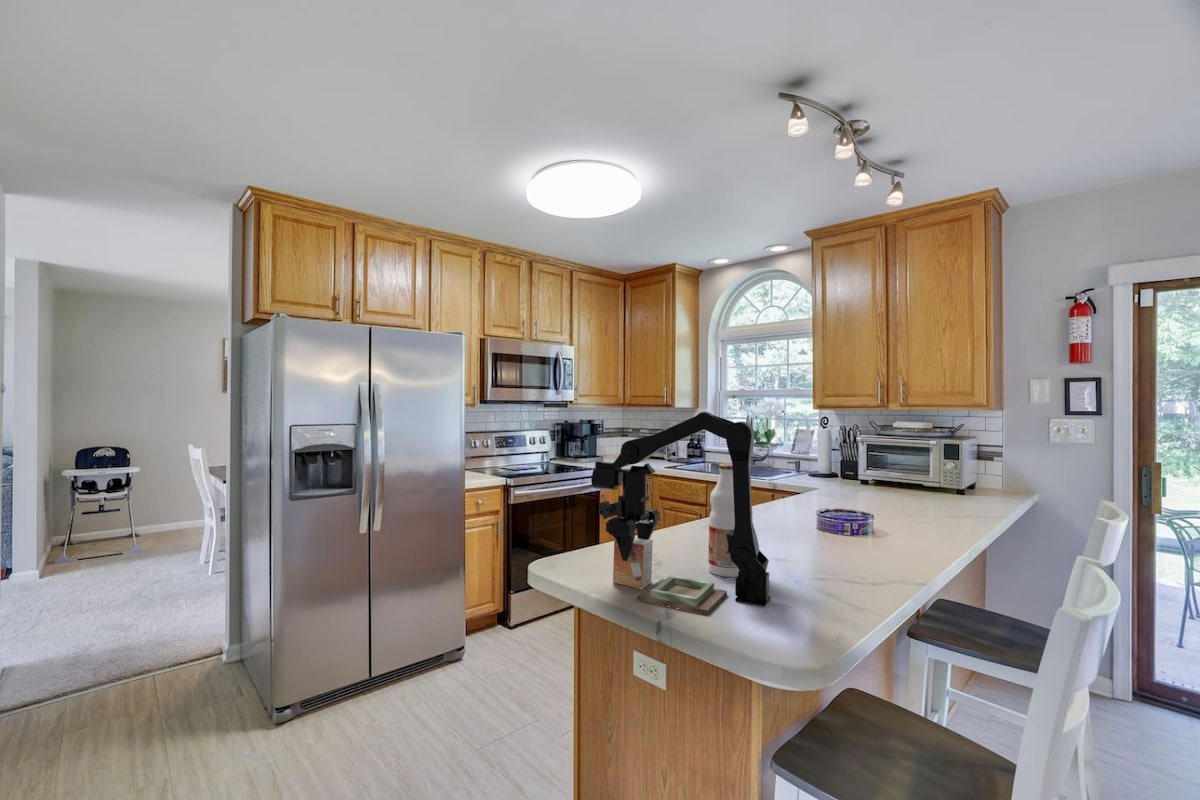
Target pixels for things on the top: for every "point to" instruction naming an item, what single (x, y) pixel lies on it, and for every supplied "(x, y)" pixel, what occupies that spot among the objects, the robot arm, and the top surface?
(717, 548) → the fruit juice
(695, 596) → the board
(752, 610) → the top surface
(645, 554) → the small box
